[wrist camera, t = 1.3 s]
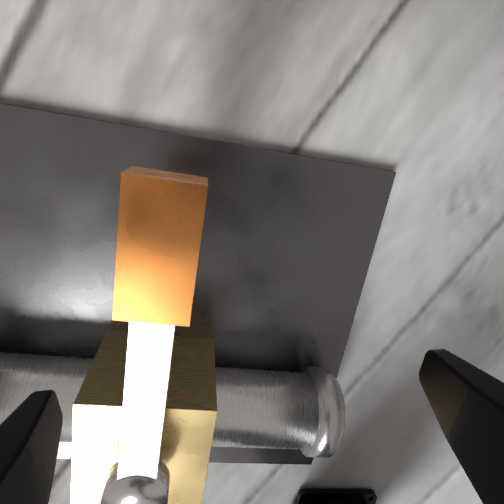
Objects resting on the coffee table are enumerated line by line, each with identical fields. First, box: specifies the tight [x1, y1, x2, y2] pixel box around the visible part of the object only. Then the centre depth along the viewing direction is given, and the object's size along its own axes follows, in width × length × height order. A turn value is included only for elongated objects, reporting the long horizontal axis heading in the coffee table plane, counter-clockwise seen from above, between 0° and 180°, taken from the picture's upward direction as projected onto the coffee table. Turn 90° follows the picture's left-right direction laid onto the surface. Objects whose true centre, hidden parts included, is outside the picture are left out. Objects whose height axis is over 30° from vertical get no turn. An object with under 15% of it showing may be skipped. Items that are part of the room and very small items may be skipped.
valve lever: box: [100, 166, 208, 504], centre depth 14 cm, size 15×3×2 cm, turn 170°
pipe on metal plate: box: [0, 103, 396, 504], centre depth 19 cm, size 24×22×7 cm
